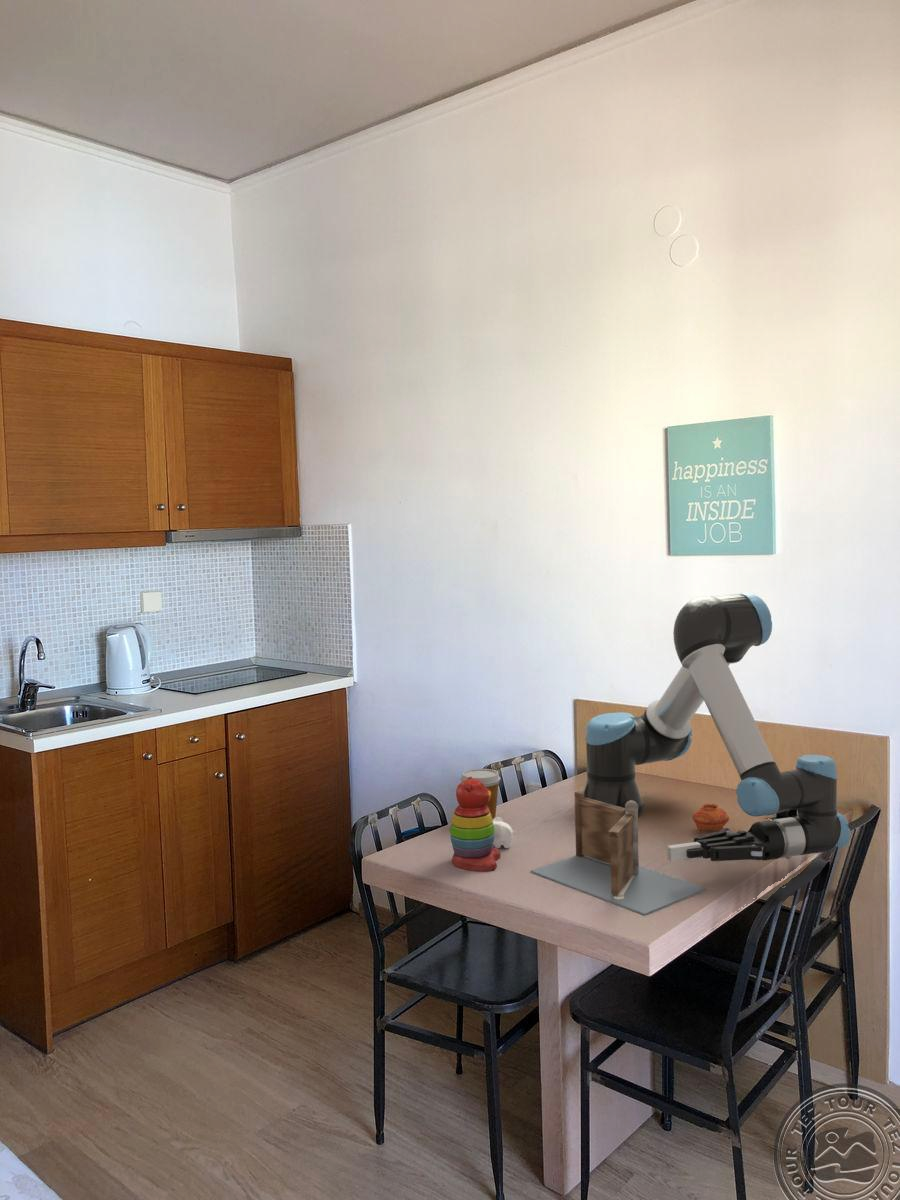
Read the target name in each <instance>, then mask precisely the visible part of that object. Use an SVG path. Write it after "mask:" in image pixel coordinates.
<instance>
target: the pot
mask: <svg viewBox="0 0 900 1200" xmlns="http://www.w3.org/2000/svg"><path fill="white" fill-rule="evenodd" d="M692 821H693V822H694V823H695V826H696V829H697V832H698V833H700V832H701V833H702V829H703V830H707V831H717V832H718V831H721V830H722V829H724V826H726V825H727V824H728V823H729V821H730V817H729V814H728V813H727V812H726V811H725V810H724V809H722V808H721V807H720V805H718V804H715V803H713V804H711V803H706V804H702V806H701V807H700V808H699V809H697V810H696V811H695V812H694V813H693V815H692Z"/></svg>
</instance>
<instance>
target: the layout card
mask: <svg viewBox="0 0 900 1200" xmlns="http://www.w3.org/2000/svg"><path fill="white" fill-rule="evenodd" d="M530 873H532V874H535V875H538V876H540V877H543V878H545V879H548V880H550V881H554V882H556V883H559V884H561V885H563V886H566V887H569V888H572V889H574V890H577V891H580V892H583V893H585V894H588V895H590V896H593V897H596V898H598V899H601V900H604V901H606V902H609V903H611V904H614V905H616V906H620V907H621V908H625V909H627V910H628V911H629V910H630V911H632V912H635V913H637V914H640V915H643V916H647V915H649V914H651V913H654V912H657V911H658V910H661V909H664V908H666V907H669V906H670V905H673V904H676V903H678V902H680V901H682V900H686V899H687V898H690V897H694V896H695V895H697V894H700V893H702V892H705V891H706V890H707V889H708V888H707V887H704V886H701V885H698V884H695V883H692V882H690V881H686V880H683V879H680V878H677V877H674V876H671V875H668V874H665V873H661V872H659V871H656V870H653V869H650V868H647V867H644V866H641V865H639V874H637V875H632V876H631V878H630V879H629V880H628V882H627V883H626V884H625V885H624V887H623V888H622V889H621V891H620V892H619V893H618V895H617V894H611V864H608V863H605V862H602V861H599V860H596V859H593V858H590V857H587V856H583V857H578V856H576V855H573V856H570V857H566V858H564V859H560V860H558V861H555V862H552V863H549V864H546V865H543V866H540V867H537V868H534V869H531V870H530Z"/></svg>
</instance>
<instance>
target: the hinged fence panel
mask: <svg viewBox="0 0 900 1200" xmlns="http://www.w3.org/2000/svg"><path fill="white" fill-rule="evenodd" d="M633 820H634V815H632V814H625V815H624V816H623V817H622V818H621V819H620V820H619V821H618V822H617V823H616V824H615V825H614V826H613V827H612V828H611V830H610V831H609V837H610V849H611V894H617V895H618V893H619V892H620V891H621V889H622V888H623V887H624V885H625V884H626V883H627V882H628V880H629V879H630V878H631V876H632V875H633V874H634V869H633Z"/></svg>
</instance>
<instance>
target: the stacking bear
mask: <svg viewBox="0 0 900 1200" xmlns="http://www.w3.org/2000/svg"><path fill="white" fill-rule="evenodd" d="M455 789H456V791H455V796H456V800H457V803H458V806H457V807H456V808H455V809H454V811H453V813H452V816H451V821H450V822H451V823H450V826H449V827H450V828H449V829H450V830H449V833H450V834H449V836H450V841H451V842H450V843H451V845H452V850H453V855H452V858H451V863H452V865H454V866H455V867H457V868H460V869H463V870H469V871H476V872H478V871H479V872H490V871H494V870H496V869H497V867H498V863H497V862H496V860H499V859H500V858H501V851H500V850H499V848H498V849H497V848H495V847H494V834H495V833H494V831H495V829H494V824H493V821H492V816H491V813H490V809H489V808H488V806H487V805H486V804H487V803H488V802H489V801H490V799H491V796H492V794H491V791H489V790H488V789H487V788H486V787H485V785H484V784H483V783H482V782H481V781H480V780H477V779H472V777H468V779H467V780H464V781H460V783H459V784H458V785H457V787H456V788H455Z"/></svg>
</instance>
